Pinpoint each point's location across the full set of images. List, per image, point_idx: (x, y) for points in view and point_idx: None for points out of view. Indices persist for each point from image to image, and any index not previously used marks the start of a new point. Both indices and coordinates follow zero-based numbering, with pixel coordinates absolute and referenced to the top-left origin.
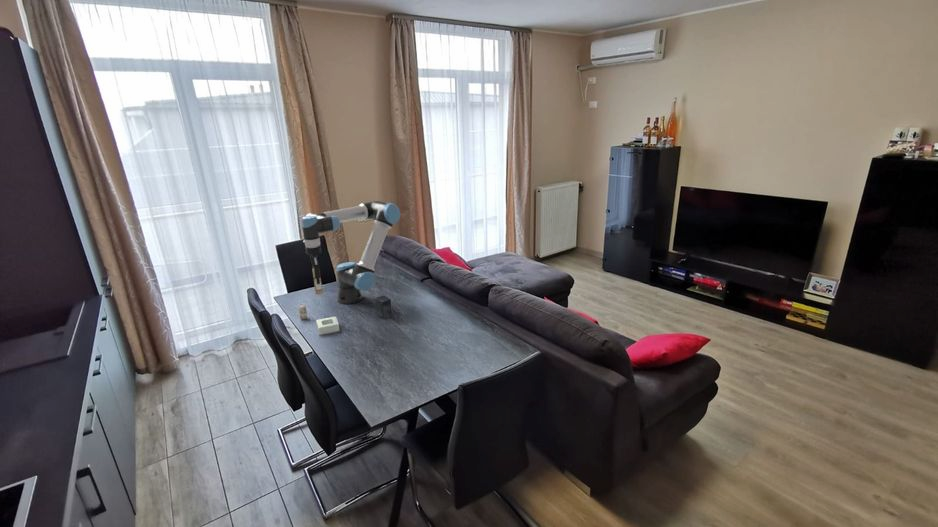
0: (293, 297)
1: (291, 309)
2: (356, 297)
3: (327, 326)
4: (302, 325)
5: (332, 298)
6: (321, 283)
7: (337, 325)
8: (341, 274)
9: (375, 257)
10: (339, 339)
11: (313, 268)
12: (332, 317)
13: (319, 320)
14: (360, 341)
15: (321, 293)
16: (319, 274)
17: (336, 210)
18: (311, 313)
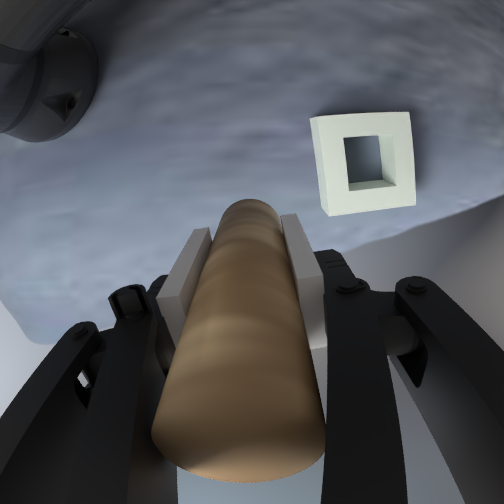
0: (28, 311)
1: None
2: (77, 39)
3: (413, 164)
4: None
5: (32, 165)
6: (252, 229)
7: (406, 118)
8: None
9: None
10: (455, 125)
11: (203, 472)
12: (326, 134)
13: (340, 200)
14: (480, 63)
15: (272, 209)
16: (464, 322)
17: None
18: (164, 240)
